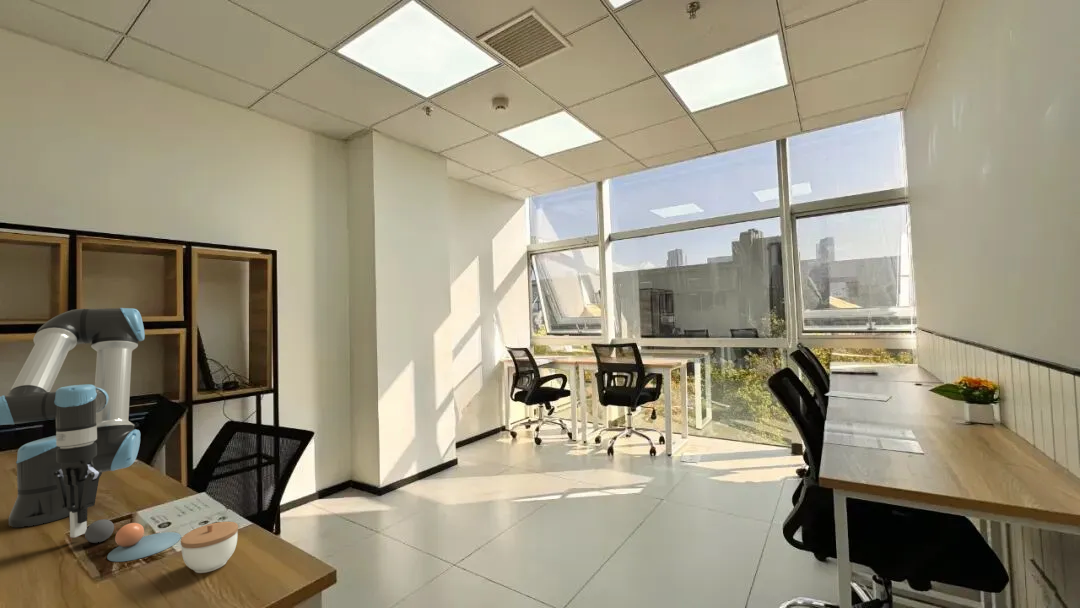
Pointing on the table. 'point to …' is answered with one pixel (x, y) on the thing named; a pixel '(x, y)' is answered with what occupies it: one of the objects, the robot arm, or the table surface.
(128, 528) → the terracotta ball
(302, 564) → the table surface
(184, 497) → the table surface
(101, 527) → the charcoal ball
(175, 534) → the slate mark
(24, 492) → the robot arm
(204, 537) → the lidded jar
